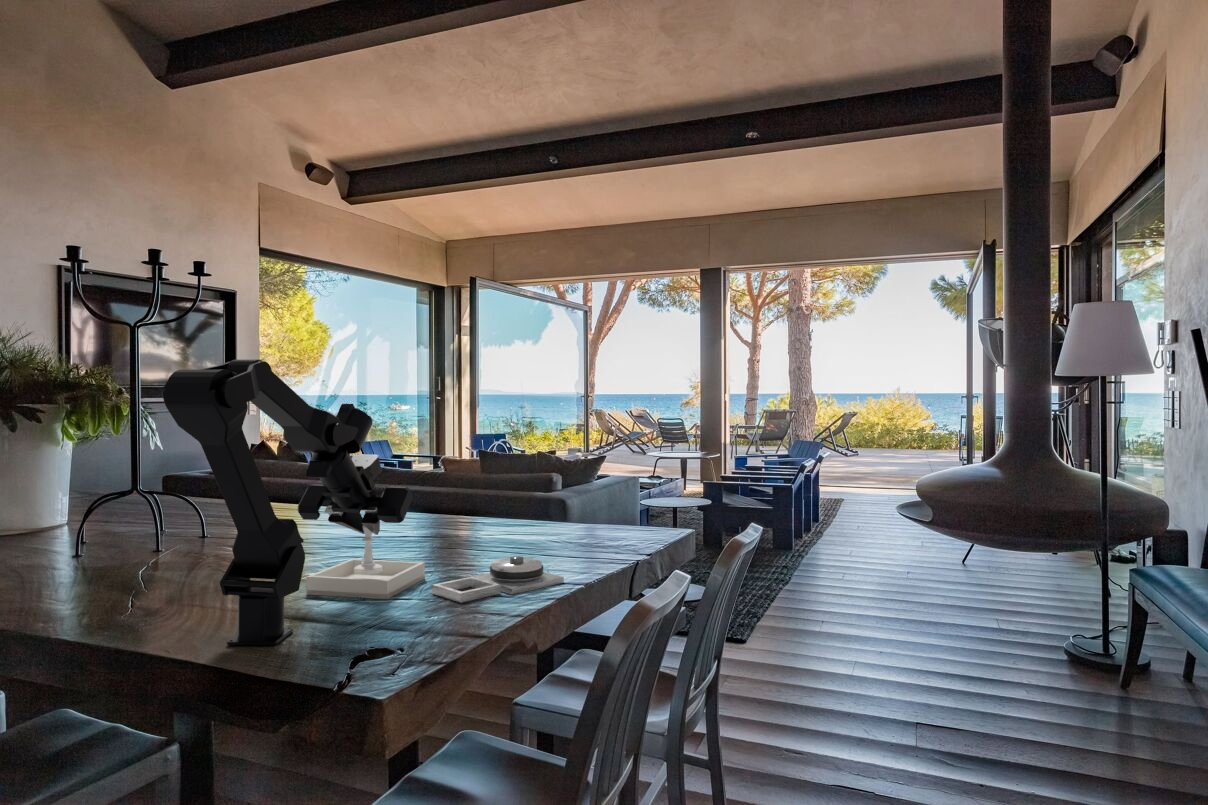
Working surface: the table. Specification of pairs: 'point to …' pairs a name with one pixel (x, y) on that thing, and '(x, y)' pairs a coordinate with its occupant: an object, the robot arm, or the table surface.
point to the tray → (365, 579)
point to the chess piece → (368, 557)
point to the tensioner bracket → (499, 580)
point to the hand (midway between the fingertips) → (371, 532)
